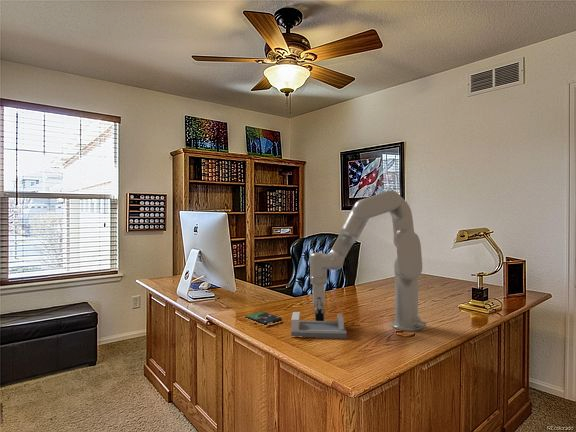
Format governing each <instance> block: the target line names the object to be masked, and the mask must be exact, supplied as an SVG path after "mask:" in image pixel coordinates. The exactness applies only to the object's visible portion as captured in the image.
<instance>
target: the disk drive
mask: <svg viewBox="0 0 576 432" xmlns="http://www.w3.org/2000/svg"><path fill="white" fill-rule="evenodd" d="M245 318H248V319H251V320H253V321H256V322H258V323H261V324H264V325H267V324H271V323H275V322H279V321H282V322H283V317H280V316H277V315H274V314H272V313H268V312H265V311H257V312H253V313H252V314H247V315H245V316H244V319H245Z"/></svg>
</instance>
